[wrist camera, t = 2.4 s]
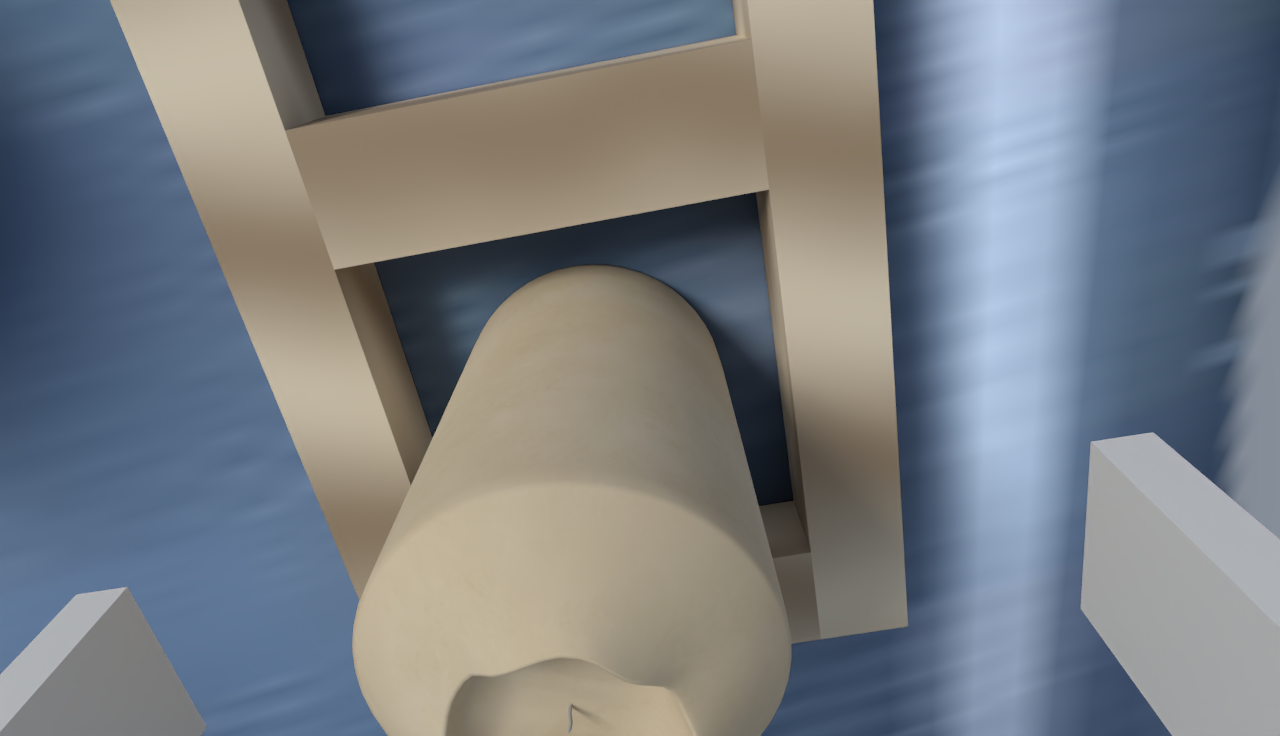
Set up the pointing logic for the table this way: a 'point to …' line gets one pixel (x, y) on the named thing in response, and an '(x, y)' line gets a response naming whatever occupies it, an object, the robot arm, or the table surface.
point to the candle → (579, 535)
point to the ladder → (544, 200)
